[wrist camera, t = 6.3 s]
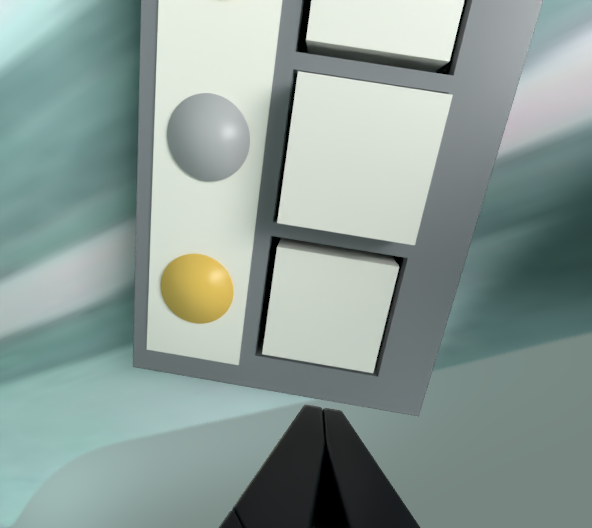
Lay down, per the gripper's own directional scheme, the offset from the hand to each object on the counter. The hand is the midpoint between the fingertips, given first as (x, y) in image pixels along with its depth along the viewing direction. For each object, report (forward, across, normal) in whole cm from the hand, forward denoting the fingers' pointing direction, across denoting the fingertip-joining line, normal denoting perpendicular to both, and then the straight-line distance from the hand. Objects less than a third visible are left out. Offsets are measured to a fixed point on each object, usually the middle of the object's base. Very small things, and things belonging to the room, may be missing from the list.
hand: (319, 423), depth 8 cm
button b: (+7, 0, -6) cm, 9 cm away
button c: (+8, 0, 0) cm, 8 cm away
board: (+9, +1, -6) cm, 11 cm away
